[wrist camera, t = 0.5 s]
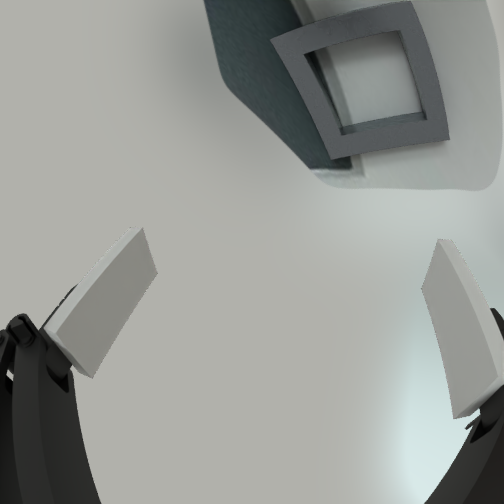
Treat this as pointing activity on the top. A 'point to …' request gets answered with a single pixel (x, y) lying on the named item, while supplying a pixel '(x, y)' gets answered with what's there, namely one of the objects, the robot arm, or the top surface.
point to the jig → (319, 103)
